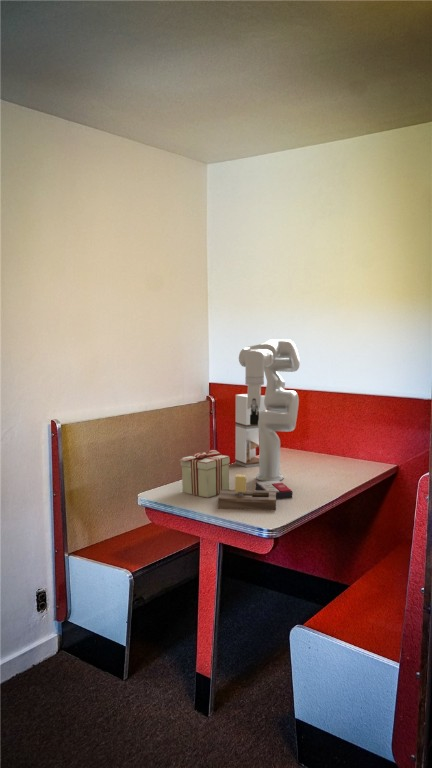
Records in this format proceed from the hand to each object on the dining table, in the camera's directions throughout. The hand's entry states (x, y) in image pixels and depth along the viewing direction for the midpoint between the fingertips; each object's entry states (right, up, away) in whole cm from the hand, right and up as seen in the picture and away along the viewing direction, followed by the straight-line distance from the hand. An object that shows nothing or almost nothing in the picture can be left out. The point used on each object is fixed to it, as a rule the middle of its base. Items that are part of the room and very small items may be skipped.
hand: (254, 422), depth 252 cm
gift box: (-22, -30, +8) cm, 38 cm away
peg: (-6, -32, -10) cm, 34 cm away
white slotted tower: (+2, -25, +59) cm, 64 cm away
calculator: (+8, -31, +5) cm, 32 cm away
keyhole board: (-3, -32, -11) cm, 33 cm away
